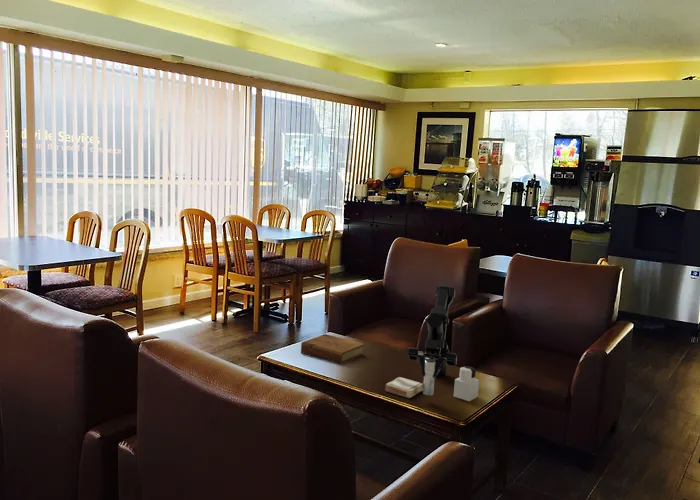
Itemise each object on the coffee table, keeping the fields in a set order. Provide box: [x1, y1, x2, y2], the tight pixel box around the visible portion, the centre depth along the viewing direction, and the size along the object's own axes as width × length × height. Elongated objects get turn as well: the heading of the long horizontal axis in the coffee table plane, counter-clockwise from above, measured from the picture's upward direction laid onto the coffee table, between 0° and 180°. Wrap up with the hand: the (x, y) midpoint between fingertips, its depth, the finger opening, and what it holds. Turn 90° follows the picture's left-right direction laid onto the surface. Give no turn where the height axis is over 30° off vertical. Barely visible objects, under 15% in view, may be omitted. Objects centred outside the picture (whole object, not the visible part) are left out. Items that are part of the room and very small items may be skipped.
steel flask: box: [422, 356, 436, 396], centre depth 218 cm, size 4×4×14 cm
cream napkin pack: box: [384, 376, 424, 399], centre depth 229 cm, size 11×11×3 cm
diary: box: [300, 333, 365, 365], centre depth 270 cm, size 23×19×6 cm
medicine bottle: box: [453, 365, 480, 402], centre depth 226 cm, size 7×7×12 cm
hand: (428, 376), depth 216 cm, fingers closed on steel flask, 4 cm apart
